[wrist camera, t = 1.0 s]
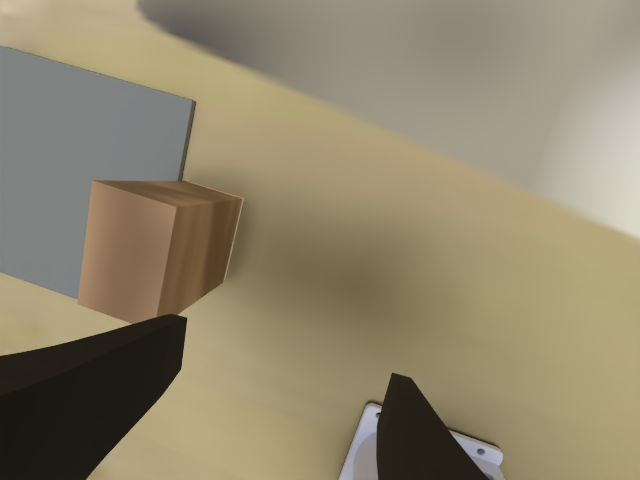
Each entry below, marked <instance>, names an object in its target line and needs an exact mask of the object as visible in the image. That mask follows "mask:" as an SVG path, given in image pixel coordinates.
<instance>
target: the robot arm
mask: <svg viewBox="0 0 640 480" xmlns="http://www.w3.org/2000/svg"><path fill="white" fill-rule="evenodd" d="M186 325H187V318H186V317H182V316H178V315H175V314H167V315H162V316H159V317H155V318H152V319H148V320H145V321H141V322H138V323H135V324H132V325H128V326H125V327H122V328H118V329H115V330H112V331H108V332H105V333H101V334H97V335H94V336H90V337H86V338H82V339H79V340H75V341H71V342H68V343H63V344H59V345H55V346H50V347H46V348H41V349H36V350H31V351H26V352H21V353H16V354H10V355H3V356H0V480H86V479H87V478H88V476H89V475H90V474H91V473H92V471H93V470H94V469H95V468H96V467H97V466H98V464H99V463H100V462H101V461H102V460H103V459H104V458H105V456H106V455H107V454H108V453H109V452H110V451H111V450H112V449H113V448H114V447H115V446H116V445H117V444H118V442H119V441H120V440H121V439H122V438H123V437H124V436H125V435H126V434H127V433H128V432H129V431H130V430H131V429H132V427H133V426H134V425H135V424H136V423H137V422H138V421H139V420H140V419H141V418H142V417H143V416H144V415H145V413H146V412H147V411H148V410H149V409H150V408H151V407H152V406H153V405H154V404H155V403H156V401H157V400H158V399H159V398H160V397H161V396H162V395H163V393H164V392H165V391H166V389H167V388H168V387H169V385H170V384H171V383H172V381H173V380H174V378H175V377H176V376H177V374H178V373H179V371H180V370H181V366H182V358H183V349H184V341H185V333H186ZM378 412H380V415H378V414H376V413H378ZM480 448H481V450H478V449H480ZM502 460H503V454H502V452H501V450H500V449H499V448H498V447H495V446H493V445H490V444H487V443H484V442H481V441H479V440H476V439H473V438H470V437H467V436H464V435H462V434H459V433H456V432H453V431H450V430H448V429H447V427H446V426H445V425H444V423H443V422H442V421H441V419H440V418H439V417H438V415H437V414H436V412H435V411H434V410H433V408H432V407H431V405H430V404H429V403H428V401H427V400H426V398H425V397H424V395H423V394H422V393H421V391H420V390H419V388H418V387H417V385H416V384H415V383H414V381H413V380H412V379H411V378H410V377H406V376H402V375H399V374H395V373H392V375H391V379H390V382H389V385H388V389H387V392H386V395H385V399H384V402H383V406H380V405H377V404H374V403H369V404H367V405H366V407H365V409H364V412H363V415H362V417H361V420H360V423H359V425H358V428H357V431H356V433H355V436H354V438H353V441H352V444H351V446H350V449H349V452H348V454H347V457H346V460H345V462H344V465H343V468H342V470H341V473H340V476H339V478H338V480H505V478H504V476H503V473H502V471H501V469H500V467H499V466H500V464H501V462H502Z"/></svg>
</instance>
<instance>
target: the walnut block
mask: <svg viewBox="0 0 640 480" xmlns="http://www.w3.org/2000/svg"><path fill="white" fill-rule="evenodd" d="M243 202H244V198H241V197H238V196H235V195H231V194H228V193H225V192H222V191H218V190H215V189H212V188H209V187H206V186H202V185H199V184H196V183H193V182H189V181H110V180H92V186H91V195H90V203H89V211H88V220H87V228H86V236H85V245H84V253H83V261H82V270H81V278H80V287H79V295H78V303H77V304H79V305H82V306H84V307H87V308H90V309H93V310H96V311H98V312H101V313H104V314H107V315H110V316H112V317H115V318H118V319H121V320H124V321H126V322H129V323H132V324H135V323H138V322H141V321H145V320H148V319H152V318H155V317H159V316H162V315H167V314H175V315H178V314H179V313H180V312H182V311H183V310H185V309H186V308H188V307H189V306H190V305H192V304H193V303H195V302H196V301H197V300H199V299H200V298H202V297H203V296H205V295H206V294H207V293H209V292H210V291H212V290H213V289H214V288H216V287H217V286H219V285H220V284H221V283H223V282H224V281H225V279H226V275H227V270H228V266H229V262H230V257H231V253H232V249H233V245H234V240H235V236H236V232H237V227H238V223H239V219H240V214H241V210H242V206H243Z"/></svg>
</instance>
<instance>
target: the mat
mask: <svg viewBox="0 0 640 480" xmlns="http://www.w3.org/2000/svg"><path fill="white" fill-rule="evenodd" d="M195 103H196V102H194V101H192V100H189V99H185V98H182V97H178V96H175V95H171V94H168V93H164V92H161V91H157V90H154V89H150V88H147V87H143V86H140V85H136V84H133V83H129V82H126V81H122V80H119V79H115V78H112V77H109V76H105V75H102V74H98V73H95V72H91V71H88V70H84V69H81V68H77V67H74V66H70V65H67V64H63V63H60V62H56V61H53V60H49V59H46V58H42V57H39V56H35V55H32V54H28V53H25V52H21V51H18V50H14V49H11V48H7V47H4V46H0V272H2V273H4V274H7V275H10V276H13V277H16V278H19V279H21V280H24V281H27V282H30V283H33V284H35V285H38V286H41V287H44V288H47V289H49V290H52V291H55V292H58V293H61V294H64V295H66V296H69V297H72V298H75V299H78V295H79V287H80V278H81V270H82V261H83V253H84V245H85V236H86V228H87V220H88V211H89V203H90V195H91V186H92V180H110V181H181V179H182V174H183V168H184V163H185V158H186V152H187V147H188V141H189V136H190V130H191V125H192V120H193V114H194V109H195Z"/></svg>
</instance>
